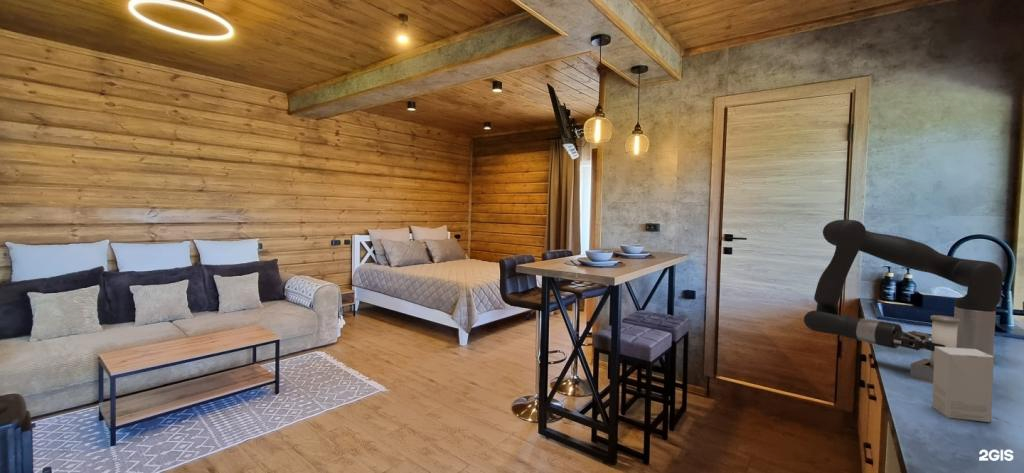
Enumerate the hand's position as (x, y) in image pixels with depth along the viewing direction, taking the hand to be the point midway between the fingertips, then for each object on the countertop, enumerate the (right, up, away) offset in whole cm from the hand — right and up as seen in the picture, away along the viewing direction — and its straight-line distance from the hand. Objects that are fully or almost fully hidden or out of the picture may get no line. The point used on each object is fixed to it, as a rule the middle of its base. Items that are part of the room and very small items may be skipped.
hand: (950, 346), depth 119 cm
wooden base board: (+4, -11, +5) cm, 13 cm away
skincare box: (-16, -12, -18) cm, 26 cm away
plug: (-1, -10, +2) cm, 10 cm away
